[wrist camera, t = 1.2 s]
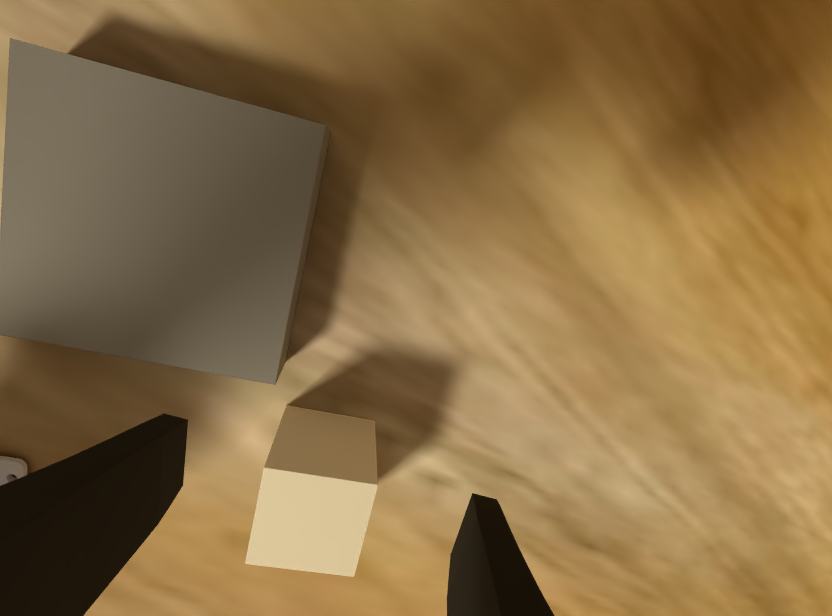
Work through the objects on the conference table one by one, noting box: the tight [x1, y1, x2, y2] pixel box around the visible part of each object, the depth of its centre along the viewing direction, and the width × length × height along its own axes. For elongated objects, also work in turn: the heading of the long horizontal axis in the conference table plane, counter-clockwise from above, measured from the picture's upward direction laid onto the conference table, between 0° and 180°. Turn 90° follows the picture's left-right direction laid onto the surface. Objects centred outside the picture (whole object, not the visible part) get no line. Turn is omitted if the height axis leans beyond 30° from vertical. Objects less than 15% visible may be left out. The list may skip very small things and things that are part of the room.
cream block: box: [245, 405, 378, 577], centre depth 24 cm, size 5×5×6 cm
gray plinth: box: [0, 38, 331, 385], centre depth 21 cm, size 12×12×3 cm
